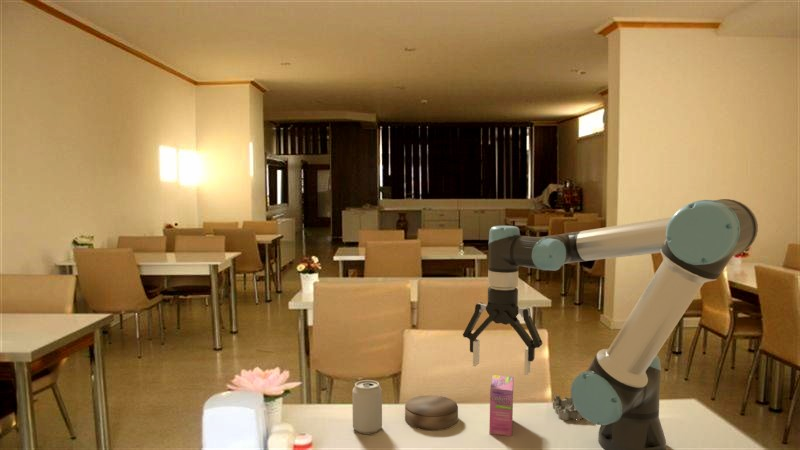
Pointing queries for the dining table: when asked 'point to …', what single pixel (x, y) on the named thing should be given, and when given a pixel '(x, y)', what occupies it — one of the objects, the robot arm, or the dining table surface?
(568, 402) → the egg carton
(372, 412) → the can
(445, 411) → the round lidded container
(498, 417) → the box
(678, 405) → the dining table surface
